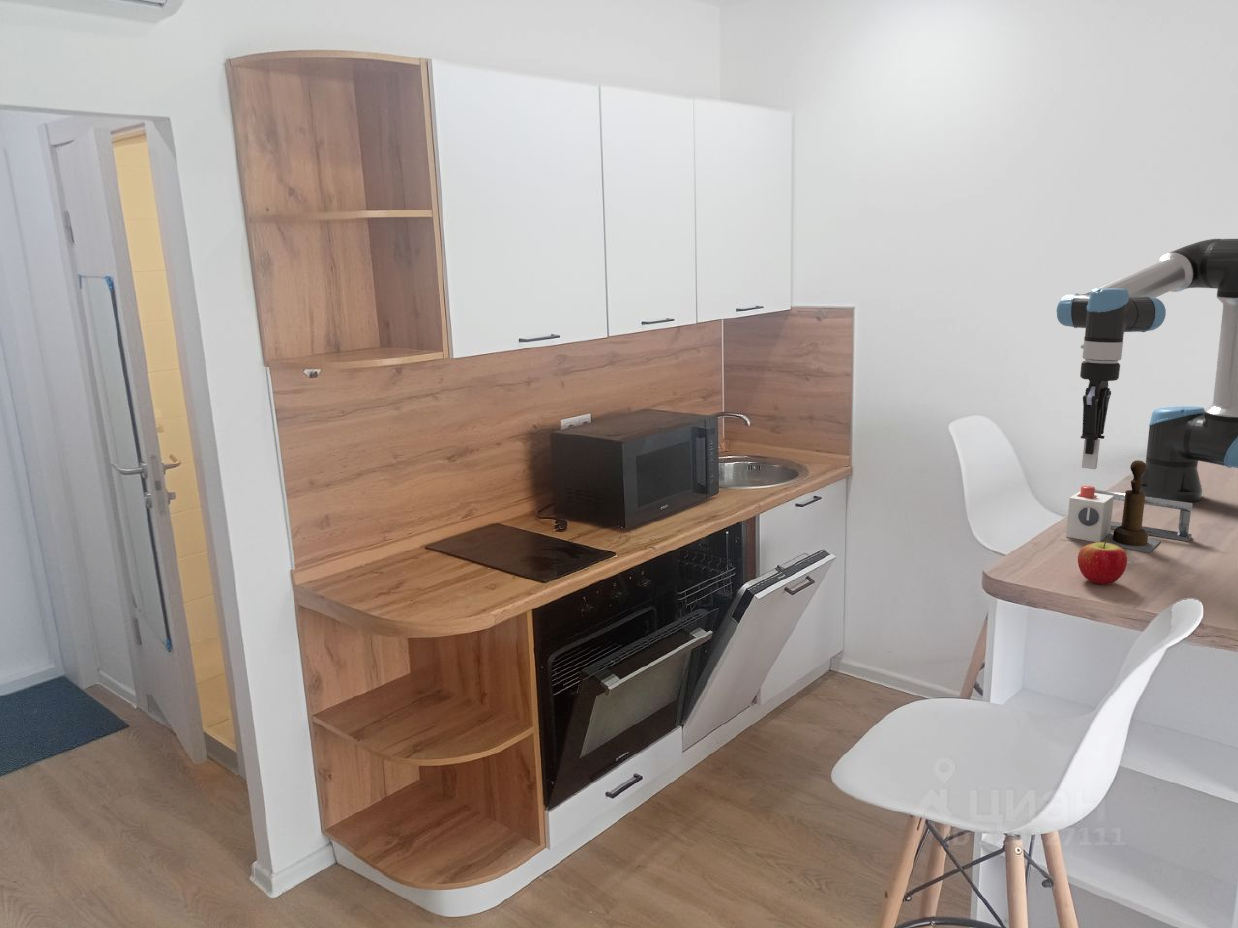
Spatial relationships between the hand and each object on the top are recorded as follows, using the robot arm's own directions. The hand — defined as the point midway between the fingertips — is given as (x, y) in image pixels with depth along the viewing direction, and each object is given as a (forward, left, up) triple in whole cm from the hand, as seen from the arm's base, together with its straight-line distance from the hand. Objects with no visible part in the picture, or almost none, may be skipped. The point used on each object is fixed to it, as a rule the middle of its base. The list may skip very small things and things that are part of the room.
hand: (1089, 467), depth 210 cm
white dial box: (0, +1, -16) cm, 15 cm away
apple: (+31, +12, -16) cm, 36 cm away
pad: (0, +10, -15) cm, 18 cm away
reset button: (0, 0, -9) cm, 9 cm away
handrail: (-11, +9, -16) cm, 21 cm away
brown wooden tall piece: (0, +10, -15) cm, 18 cm away
